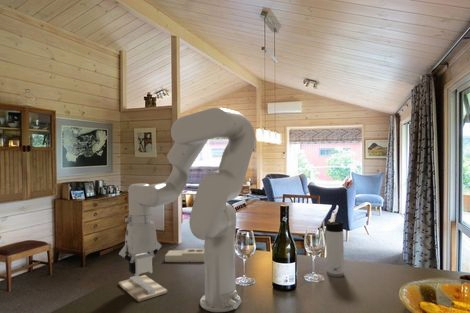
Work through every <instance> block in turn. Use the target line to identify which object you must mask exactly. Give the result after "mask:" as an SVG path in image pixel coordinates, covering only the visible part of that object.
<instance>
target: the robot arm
mask: <svg viewBox="0 0 470 313" xmlns="http://www.w3.org/2000/svg"><path fill="white" fill-rule="evenodd" d="M170 136H171V139H172V140H173V141H174V144H173V145H172V147H171V148H170V150H169V152H168V153H167V156H166V158H167V161H168V163H170V164H171V165H172V170H171V172H170V174H169V176H168V177H167V179H166V180H165V182H159V183H153V184H149V183H145V182H144V183H143V182H142V183H139V182H138V183H132V184H130V185H129V186H128V216H127V217H125V219H124V221H125V223H127V226H126V230H125V239H124V246H123V247H122V248H121V250H120V251H119V252H118V255H119V256H121V257H122V258H123V259H125V260H126V261H128V270H129V272H130V273H131V274H132V275H134V274H135V273H136V272H135V262H134V259H135V256H136V254H141V253H148V254H149V255H151V256H152V270H154V268H153V266H154V258H155V256H156V254H157V253H158V251H159V250H160V249H161V248H162V246H163V245H162V244H161V243H160V242H159V241H158V238H157V231H156V230H157V229H156V225H155V221H153V220H152V218H153V217H152V208H157V207H160V206H163V205H167V204H171V203H173V202H175V201H177V199H178V198H179V197H180V195H182V193H183V191H184V190H185V188H186V186H187V184H188V182H189V178H190V173H191V172H190V171H191V170H190V169H191V167H192V165H193V164H194V162H195V161H196V160H197V158H198V156H199V155H200V154H201V151H202V150H203V148H204V147H205V145H206V144H207V142H208V140H211V139H217V138H218V139H219V138H221V139H228V141H227V145H226V146H225V148H224V150H223V152H222V155H221V159H220V163H219V166H218V167H217V169H216V170H213V171H210V172H207V173H206V174H205V175H204V176H203V177H202V179H201V180H200V181H199V184H198V187H197V189H196V193H195V197H194V200H193V203H192V204H193V205H192V207H191V211H190V215H189V219H188V220H189V221H188V223H189V229H190V232H191V234H192V235H193V236H194V237H195V238H196V239H199V240H201V241H204V246H203V249H204V262H203V263H204V265H203V266H204V294H203V295H202V296H201V298H200V300H199V302H200V303H199V305H200V307H201V308H202V309H203V310H205V311H208V312H211V313H225V312H230V311H234V310H237V309H239V308H238V307H239V306H241V303H243V302H242V299H241V296H239V294H238V291H237V290H236V257H235V254H236V247H235V246H236V245H235V244H236V242H235V240H236V229H237V214H236V210H235V208H234V207H233V205H232V204H231V203H228V202H229V201H232V200H234V199H236V198H238V197H239V196H240V194H241V192H242V190H243V186H244V183H245V180H246V176H247V172H248V168H249V165H250V163H251V162H250V161H251V158H252V155H253V152H254V147H255V143H256V132H255V129H254V126H253V124H252V122H251V121H250V120H249V119H248V118H247V117H246V116H245V115H243V114H242V113H241V112H239V111H236V110H232V109H228V108H223V107H211V108H207V109H204V110H200V111H197V112H193V113H191V114H190V113H189V114H187V115H183V116H181V117H179V118H177V119H176V120H174V122H173V123H172V125H171V129H170ZM127 253H128V254H127Z"/></svg>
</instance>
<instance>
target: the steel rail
mask: <svg viewBox="0 0 470 313" xmlns="http://www.w3.org/2000/svg"><path fill="white" fill-rule="evenodd" d="M129 279H130V281H132V282H133V283H134V284H136V285H137V286H138V287H139V288H141V289H142V290H143V291H145V292H146V293H147V294H151V293H155V292H156V291H155V289H154V288H153V287H152V286H150V285H149V284H147V283H146V282H145V281H143V280H142V279H140V278H139V277H137V276H135V275H134V276H130V277H129Z"/></svg>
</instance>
